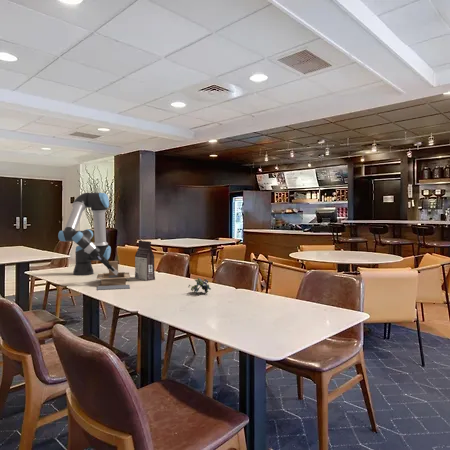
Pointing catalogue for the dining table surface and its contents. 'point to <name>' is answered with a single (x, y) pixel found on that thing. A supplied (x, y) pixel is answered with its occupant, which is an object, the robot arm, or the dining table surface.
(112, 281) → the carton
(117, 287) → the mat
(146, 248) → the coffee bag
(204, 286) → the passion flower
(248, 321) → the dining table surface
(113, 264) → the box
